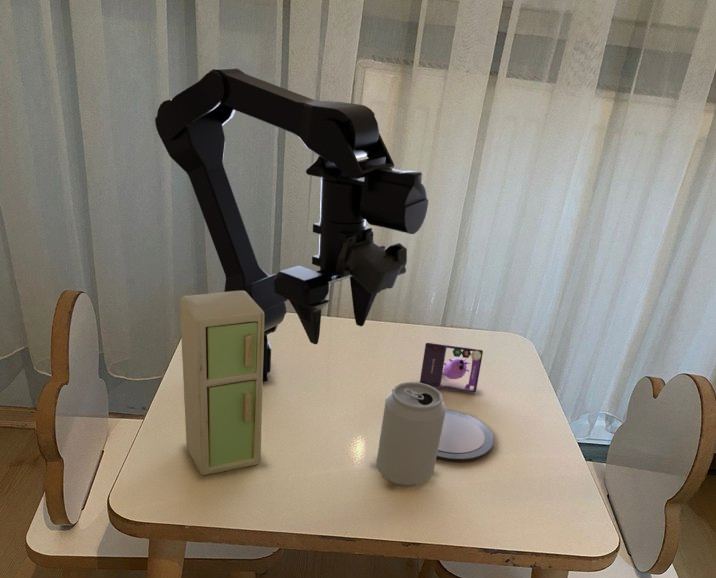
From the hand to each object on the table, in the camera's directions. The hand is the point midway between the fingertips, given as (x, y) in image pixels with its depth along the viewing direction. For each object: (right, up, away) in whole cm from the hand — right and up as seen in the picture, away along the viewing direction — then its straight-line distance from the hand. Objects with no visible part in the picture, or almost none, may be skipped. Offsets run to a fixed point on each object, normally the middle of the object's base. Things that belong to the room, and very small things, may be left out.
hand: (337, 334), depth 97 cm
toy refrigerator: (-14, -17, -6) cm, 23 cm away
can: (+9, -19, -4) cm, 21 cm away
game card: (+17, -5, +17) cm, 25 cm away
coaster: (+16, -14, +4) cm, 21 cm away
